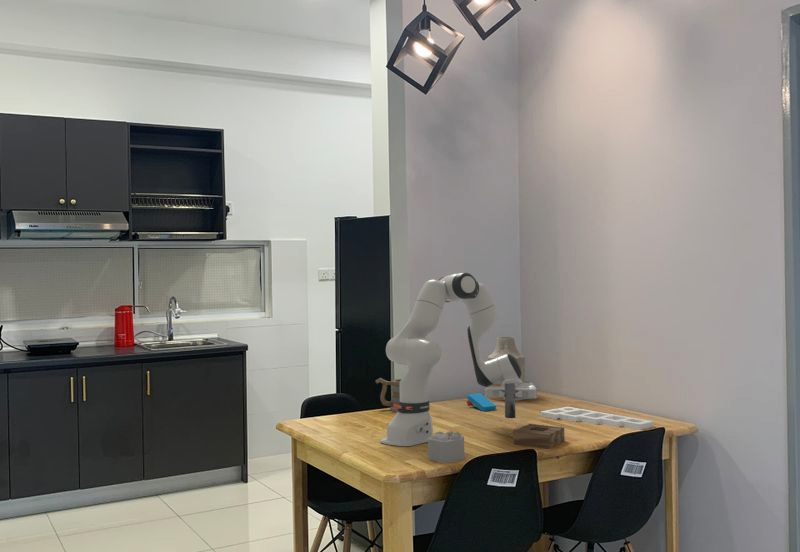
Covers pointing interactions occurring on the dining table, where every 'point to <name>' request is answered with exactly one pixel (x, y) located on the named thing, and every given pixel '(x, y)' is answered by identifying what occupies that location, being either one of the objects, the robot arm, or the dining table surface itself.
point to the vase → (508, 347)
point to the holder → (596, 417)
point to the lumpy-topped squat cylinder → (446, 447)
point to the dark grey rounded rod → (510, 400)
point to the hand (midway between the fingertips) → (509, 395)
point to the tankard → (394, 388)
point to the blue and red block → (480, 402)
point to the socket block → (539, 435)
